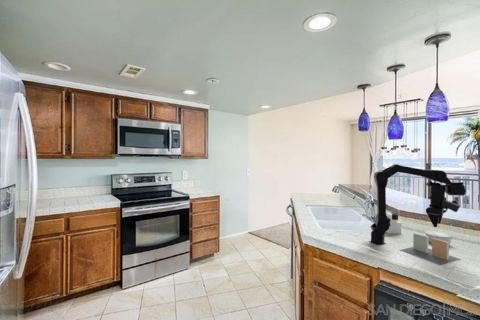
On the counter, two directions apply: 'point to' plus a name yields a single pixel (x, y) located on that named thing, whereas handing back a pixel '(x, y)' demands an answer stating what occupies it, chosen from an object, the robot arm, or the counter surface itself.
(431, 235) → the ramekin
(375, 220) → the robot arm
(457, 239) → the counter surface
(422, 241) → the sage tile
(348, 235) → the counter surface
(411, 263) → the counter surface
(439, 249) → the cream angular block
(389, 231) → the medicine bottle
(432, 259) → the slate mat
